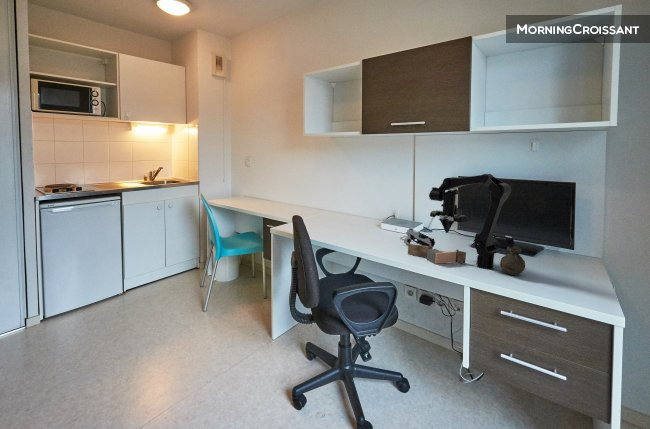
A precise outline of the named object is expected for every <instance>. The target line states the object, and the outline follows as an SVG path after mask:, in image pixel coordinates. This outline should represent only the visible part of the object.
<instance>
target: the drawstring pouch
mask: <svg viewBox="0 0 650 429" xmlns="http://www.w3.org/2000/svg"><path fill="white" fill-rule="evenodd" d="M506 249H507V251H508V253H507V254H506V255H504V256H503V257H501V259H500V263H499V265H500V268H501V270H502V271H503V272H504V273H505V274H507V275H509V276H519V275H520V274H523V272H524V271H525V269H526V260H525V259H524V258H523V257H522V256H521V254H520V253H521V252H522V251H523V248H521V247H519V246H517V245H514V246H509V245H506Z"/></svg>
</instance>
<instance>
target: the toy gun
mask: <svg viewBox="0 0 650 429" xmlns="http://www.w3.org/2000/svg"><path fill="white" fill-rule="evenodd" d="M405 234H406V235H407V236H406V237H405V238H404V239H403V243H404V244H405V245H406V246H408V244H411V242H412V241H413V243H416V245H422V246H429V245H430V246H432V249H434V247H435V246H436V241H435V238H433V237H430V236H427V235H426V234H423V233H421V232H419V231H417V230H414V229H413V228H408V229H407V230H406V232H405Z"/></svg>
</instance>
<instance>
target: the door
mask: <svg viewBox="0 0 650 429" xmlns="http://www.w3.org/2000/svg"><path fill="white" fill-rule="evenodd" d="M455 261H456V250H453V251H444V252H443V251H441V253H435V264H446V263H447V264H448V263H456V262H455ZM435 264H434V265H435Z"/></svg>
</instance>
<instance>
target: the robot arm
mask: <svg viewBox="0 0 650 429" xmlns="http://www.w3.org/2000/svg"><path fill="white" fill-rule="evenodd" d="M474 184H475V185H476V184H484V186H485V188H486V189H487V190H488V191H490V196H489V197H490V201H491V202H490V205H489V208H488V211H487V213H486V214H487V215H486V218H485V220H484V224H483V227H482V229H481V231H480V232H477V233H476V232H475V235H474V240H472V241H473V246H474V248H475V250H476V254H477V256H476V257H477V258H476V265H477V266H476V267H477V268H481V269H487V270H493V269H494V266H495V265H494V263H495V255H496V254H497V252H498V248H497V247H496V245H495V244H494V239H495V237H494V231H495V228H496V225H497V222H498V219H499V216H500V214H501V211H502V210H501V209H502V207H503V205H504V204H505V202H506V201H507V200H508V198H509V197H510V194H511V193H512V187H511V185H509V183H505V182H503V181H502V180H501V179H499V178H497V177H495V175H492V174H491V173H483V174H480V175H479V174H478V175H474V176H473V175H472V176H465V177H455V176H454V177H445V178H444V179H443V180H442V183H441V184H440V186H439V187H435V186H433V187H431V190H430V191H429V193H428V197H429V200H431V201H436V202H442V204H441V207H442V211H441V210H431V212H430V214H429V217H430V218H431V217H432V218H436V217H439V218H438V220H439V221H440V223H441V225H442V227H443V230H444V232H445V234H448V233H449V232H450V229H451V228H452V226H453V224H455V222H456V223H465V222H468V216H467V215H464V214H462V213H463V209H461V208H458V204H456V196H457V195H460V194H461V192H460V191H459V190H458V188H461V187H464V186H469V185H474Z"/></svg>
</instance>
